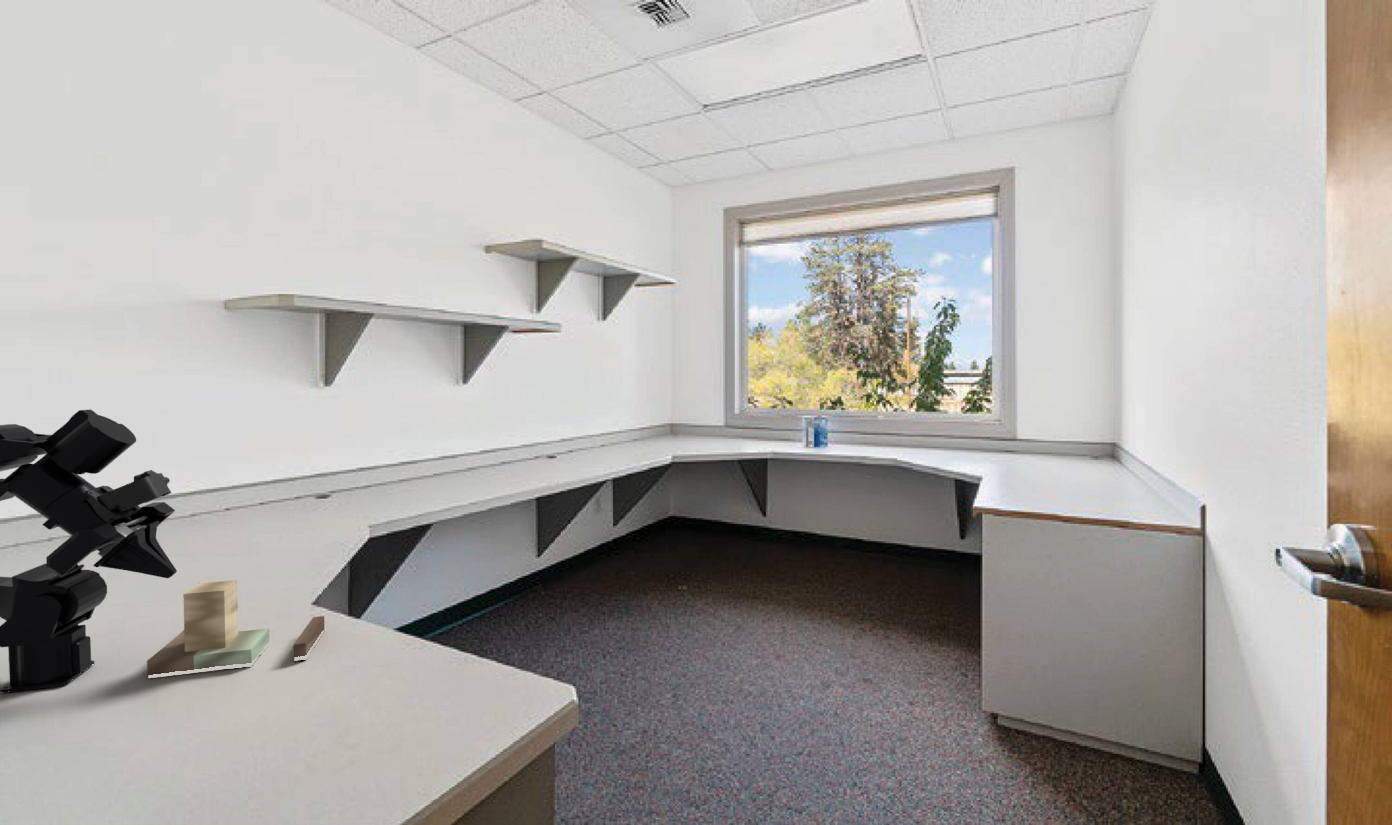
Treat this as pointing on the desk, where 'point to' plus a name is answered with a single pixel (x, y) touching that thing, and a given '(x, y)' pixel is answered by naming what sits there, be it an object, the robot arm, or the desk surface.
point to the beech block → (210, 615)
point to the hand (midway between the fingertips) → (173, 574)
